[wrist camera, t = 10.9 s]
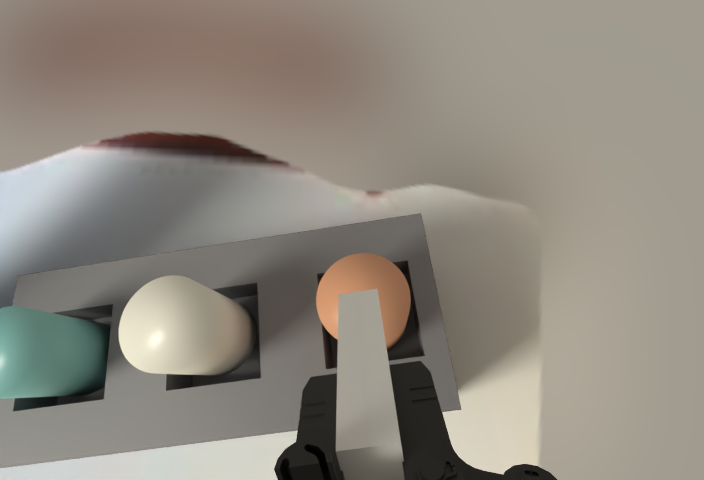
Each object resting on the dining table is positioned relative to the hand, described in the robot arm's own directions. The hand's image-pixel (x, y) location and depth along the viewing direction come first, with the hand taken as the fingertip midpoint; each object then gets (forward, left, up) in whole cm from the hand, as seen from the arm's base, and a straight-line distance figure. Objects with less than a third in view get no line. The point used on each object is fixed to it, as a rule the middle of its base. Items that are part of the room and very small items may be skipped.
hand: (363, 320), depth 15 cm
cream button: (-8, -5, -8) cm, 12 cm away
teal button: (-15, -11, -8) cm, 20 cm away
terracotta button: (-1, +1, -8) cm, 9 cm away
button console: (-8, -5, -16) cm, 18 cm away
